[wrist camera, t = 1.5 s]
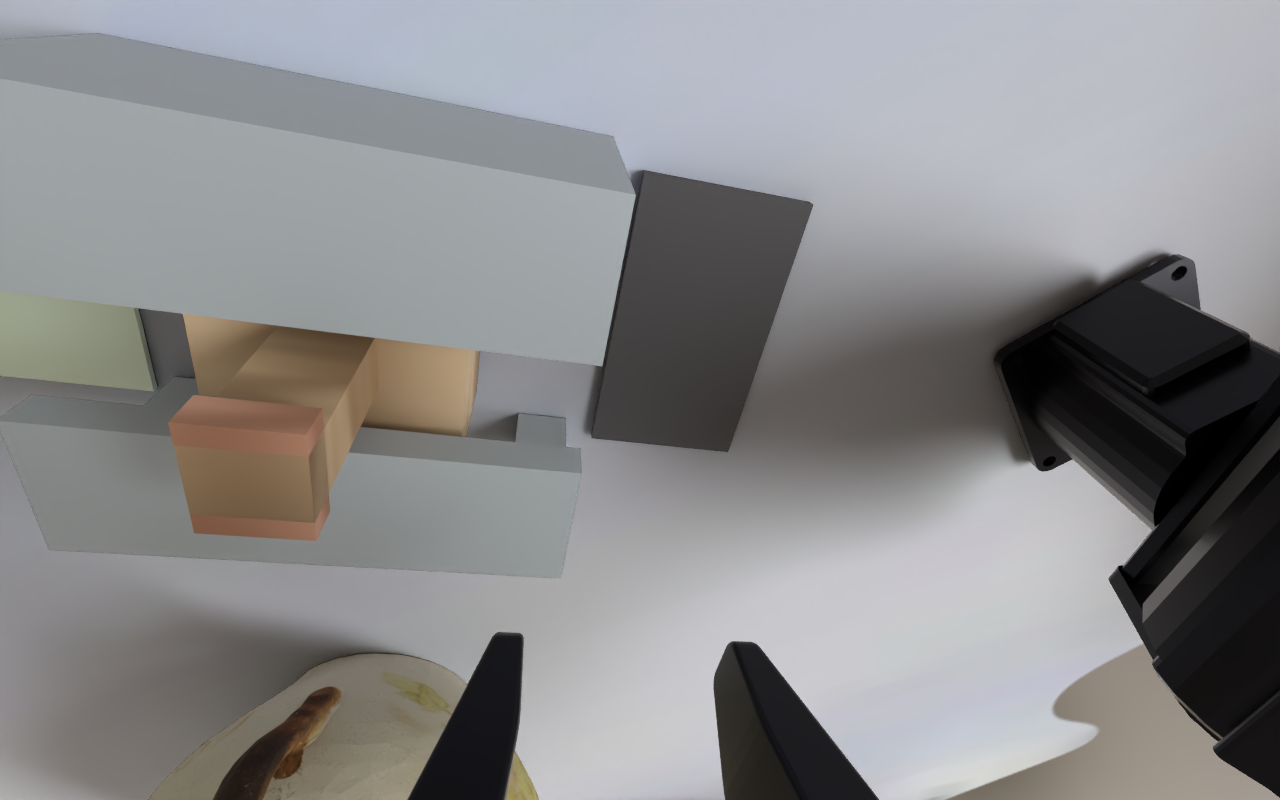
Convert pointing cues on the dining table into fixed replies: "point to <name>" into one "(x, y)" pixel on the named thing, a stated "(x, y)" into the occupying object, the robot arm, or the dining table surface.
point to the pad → (73, 342)
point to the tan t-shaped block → (300, 417)
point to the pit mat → (694, 310)
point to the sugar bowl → (333, 737)
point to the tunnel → (302, 284)
